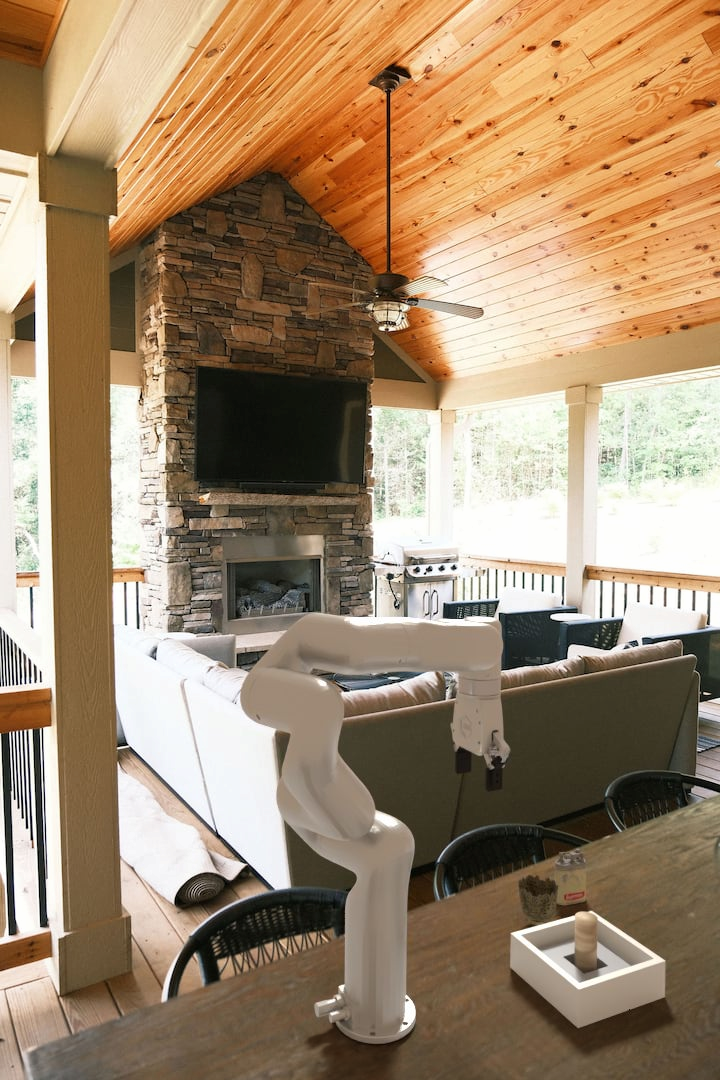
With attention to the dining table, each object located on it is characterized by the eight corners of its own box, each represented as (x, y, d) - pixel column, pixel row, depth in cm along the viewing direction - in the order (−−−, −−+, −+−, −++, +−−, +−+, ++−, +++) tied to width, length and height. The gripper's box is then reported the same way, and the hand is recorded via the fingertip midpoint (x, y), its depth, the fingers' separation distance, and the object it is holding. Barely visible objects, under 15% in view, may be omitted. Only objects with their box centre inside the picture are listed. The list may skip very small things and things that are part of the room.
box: (578, 1028, 114) (578, 989, 114) (510, 967, 130) (510, 933, 129) (664, 997, 122) (665, 960, 122) (591, 943, 137) (591, 910, 137)
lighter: (559, 907, 150) (560, 857, 150) (548, 898, 153) (549, 849, 153) (589, 901, 152) (590, 852, 152) (578, 892, 156) (579, 845, 156)
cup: (512, 929, 142) (513, 887, 142) (523, 911, 148) (524, 871, 148) (552, 939, 138) (553, 896, 138) (561, 920, 145) (562, 880, 145)
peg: (584, 984, 123) (585, 925, 123) (569, 972, 127) (570, 914, 126) (601, 979, 125) (602, 920, 125) (586, 967, 128) (587, 909, 128)
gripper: (436, 678, 141) (435, 769, 141) (489, 698, 125) (487, 800, 126) (470, 675, 144) (469, 764, 144) (526, 695, 128) (524, 794, 129)
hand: (477, 781), depth 135 cm, fingers open, 9 cm apart
